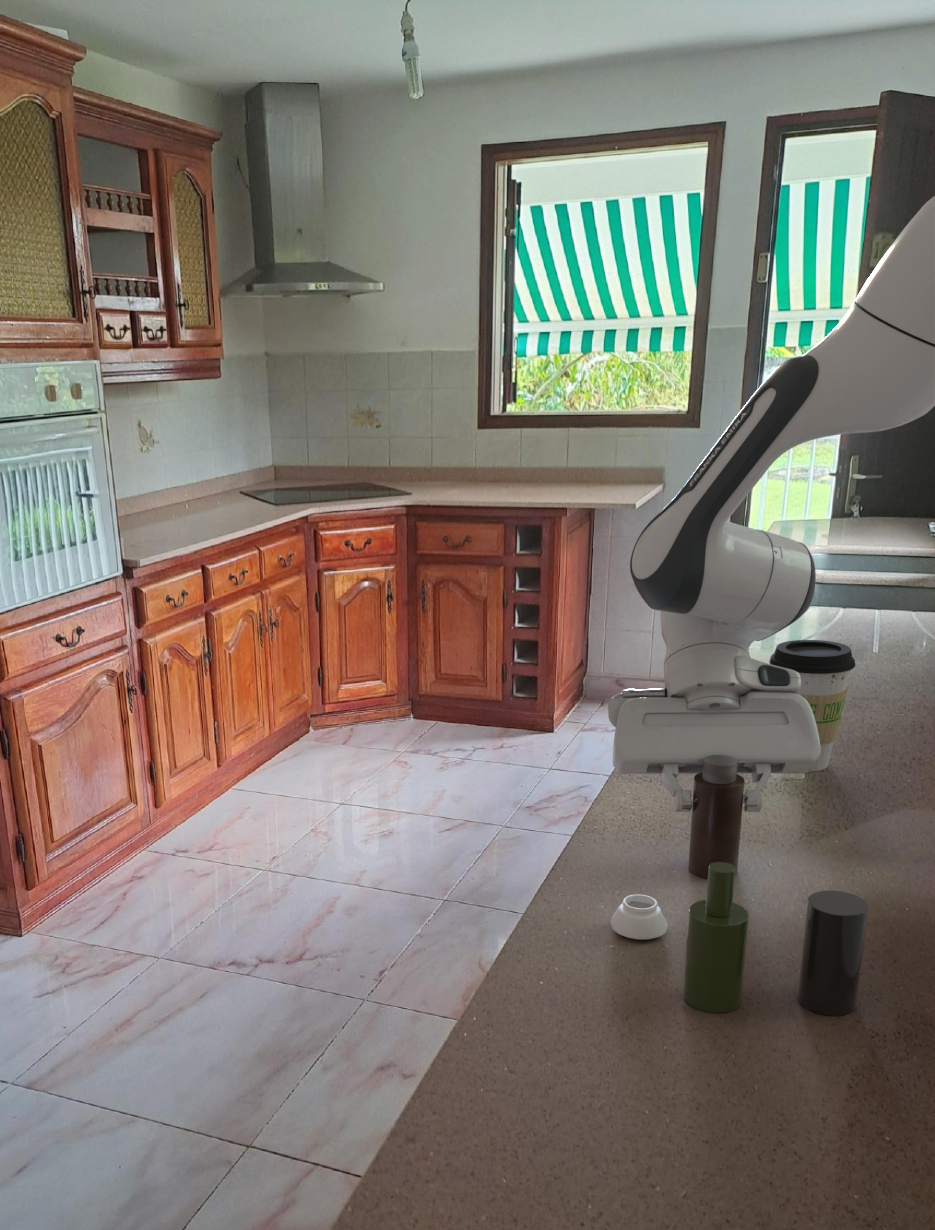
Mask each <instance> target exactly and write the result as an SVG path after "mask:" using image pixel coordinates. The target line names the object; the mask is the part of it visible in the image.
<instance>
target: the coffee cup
mask: <svg viewBox="0 0 935 1230" xmlns="http://www.w3.org/2000/svg"><path fill="white" fill-rule="evenodd" d="M852 653H853V652H852V648H851V647H850V646H848V645H846V644H844V643H841V642H836V641H831V640H824V639H823V640H822V639H796V640H795V639H794V640H788V641H783V642H780V643H778V644H777V645H776V647H775V650H774V653H772V654H771V655H770V658H769V662H768V664H771V665H775V666H779V667H783V668H787V669H791V670H794V671H797V672H798V673H799V674H800V676H801V688H800V692H799V695H801V696H802V697H804V698H805V699H806V700H807V701H808V703H809V704H810V706H811V708H812V711H813V714H814V718H815V721H816V725H817V729H818V734H819V739H820V746H821V754H820V757H819V759H818V761H817V763H816V764H815V766H814V767H813V768H812V769H811V770H810V771H809V772H808V773H810V772H818V771H819V772H820V771H823V770H826V769H827V768H829V767H828V766H829V764H830V763H829V762H830V759H831V755H832V751H833V746H834V742H835V741H836V739H837V735H838V730H839V726H840V724H841V718H842V714H843V710H844V706H845V702H846V698H847V694H848V693H847V692H848V690H849V687H848V682H849V678H850V674H851V670H853V669H854V668H855V667H856V660H855V657H854V656H853V654H852Z"/></svg>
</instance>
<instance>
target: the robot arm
mask: <svg viewBox="0 0 935 1230" xmlns="http://www.w3.org/2000/svg"><path fill="white" fill-rule="evenodd" d="M934 407H935V195H934V196H933V197H931V198H930V199H928V201H926V202H925V203H924V205H922V207H921V208H920V209H919V210H918V211H917V213H916V214H915V215H914V216H913V217H912V218H911V219H910V221H909V222H908V223H907V224H906V226H905V227H904V228H903V230H901V232H900V233H899V235H897V237H896V239H894V241H893V242H892V244H891V245H890V247H889V248H888V250H886V252H885V253H884V255H883V256H882V258H881V259H880V260H879V262H878V263H877V265H876V266H875V268H874V269H873V271H872V273H871V274H870V276H869V277H868V278H867V279H866V281H865V283H864V284H863V286H862V288H861V290H860V291H859V293H858V295H856V298H855V300H854V301H853V303H852V304H851V307H850V308H849V309H848V310H847V312H846V314H845V315H844V316H843V318H842V319H841V320H840V321H839V323H838V324H837V325H836V326H835V327H834V328H833V329H832V331H830V332H829V333H828V334H827V336H825V337H824V338H823V339H822V340H821V341H820V342H818V343H817V344H816V345H815V346H813V347H812V348H811V349H809V350H808V351H807V352H806V353H804V354H802V355H800V356H796V357H792V358H789V359H786V360H785V361H784V362H782V363H781V364H780V365H778V367H776V368H775V369H774V370H773V371H772V372H771V373H770V374H769V375H768V376H767V377H766V379H765V380H764V381H763V382H762V383H761V385H760V386H759V387H758V389H757V390H756V391H754V393H753V395H751V397H750V398H749V399H748V400H747V402H746V404H745V405H744V406H743V407H742V409H740V411H739V412H738V413H737V414H736V416H735V417H734V419H733V420H732V422H731V423H730V424H729V425H728V427H727V428H726V429H725V430H724V432H723V433H722V434H721V436H720V437H719V438H718V440H717V441H716V443H715V444H714V445H713V446H712V448H711V449H710V450H709V452H708V453H707V454H706V456H705V457H704V459H703V460H702V461H701V463H700V464H699V465H698V466H697V468H696V469H695V470H694V471H693V473H692V474H691V476H690V477H689V478H688V480H687V481H686V482H685V484H683V486H682V487H681V489H680V490H679V491H678V493H677V494H675V496H674V497H673V499H672V500H670V502H668V503H667V505H666V506H665V507H663V508H662V509H661V510H660V511H659V512H658V513H657V514H656V515H655V516H654V517H653V518H652V519H651V520H650V521H649V523H648V524H647V525H646V526H645V527H644V528H643V530H642V531H641V532H640V534H639V536H638V538H637V539H636V542H635V544H634V546H633V549H632V552H631V556H630V561H629V571H630V575H631V578H632V581H633V583H634V586H635V588H636V590H637V593H639V595H640V597H641V598H642V600H643V601H644V603H645V604H646V605H647V606H648V607H649V608H650V609H651V610H655V611H660V628H661V637H662V640H663V642H664V645H665V648H666V650H665V655H664V660H663V680H664V688H647V689H635V688H627V689H622V691H621V692H620V693H619V692H618V693H616V694H614V695H612V697H611V698H610V700H609V701H608V705H607V713H608V720H609V722H610V724H611V725H612V726H613V727H614V728H615V729H614V737H613V745H612V766H613V768H614V769H615V770H616V771H617V772H618V773H620V774H621V775H661V783H662V784H663V786H664V787H665V789H666V790H667V791H668V792H669V794H670V795H671V797H673V798H674V799H673V800H674V812H676V813H688V812H689V813H690V812H692V802H693V799H692V798H693V792H692V790H691V789H684V788H683V787H682V786H681V784H680V783H679V781H678V780H677V779H678V776H679V775H687V774H688V775H693V774H694V775H696V774H698V773H701V772H703V761H704V758H705V757H707V756H710V755H727V756H731V757H734V758H736V759H737V761H738V762H737V774H738V775H741V774H747V775H749V774H751V778H752V782H753V783H756V786H755V787H754V789H746V790H744V794H743V812H745V813H760V812H761V810H762V808H763V797H762V792H763V791H764V788H765V787H766V785H767V783H768V781H769V779H770V777H771V775H772V774H773V775H774V774H777V775H779V774H783V775H784V774H785V775H786V774H789V775H790V774H791V775H792V774H801V775H803V774H808V773H810V772H809V771H810V770H811V769H812V768H813V767H814V766H815V764H816V763H817V761H818V759H819V757H820V754H821V746H820V739H819V734H818V729H817V725H816V721H815V718H814V714H813V711H812V708H811V706H810V704H809V703H808V701H807V700H806V699H805V698H804V697H802V696H801V695H799V692H800V688H801V676H800V674H799V673H798V672H797V671H794V670H791V669H787V668H783V667H779V666H775V665H771V664H770V663H769V662H768V663H767V662H763V661H761V660H757V659H754V658H752V657H751V655H750V646H751V645H752V644H753V643H754V642H760V641H763V640H766V639H768V638H771V636H773V635H775V634H778V633H779V632H781V631H782V630H785V629H787V628H788V627H790V626H791V625H792V624H794V623H795V622H796V621H798V620H799V619H800V618H801V617H802V616H803V615H804V614H805V613H807V611H808V610H809V608H810V607H811V604H812V602H813V599H814V595H815V590H816V582H817V581H816V580H817V577H816V572H817V571H816V565H815V561H814V558H813V556H812V553H811V552H810V549H809V548H808V546H806V544H804V543H803V542H801V541H797V540H795V539H793V538H789V537H787V536H783V535H780V534H776V533H774V532H773V533H772V532H769V531H767V530H763V529H758V528H757V529H755V528H752V527H749V526H745V525H742V524H738V523H734V522H731V521H728V520H729V519H730V518H731V516H732V515H733V514H734V513H735V511H736V510H737V509H738V508H739V506H740V505H741V504H742V503H743V502H744V500H745V499H746V498H747V496H748V495H749V494H750V492H751V491H752V490H753V489H754V487H755V486H756V485H757V484H758V483H759V481H760V480H761V479H762V477H764V475H765V474H766V472H767V471H768V470H769V468H770V467H771V466H772V465H773V464H774V463H775V462H776V460H778V459H779V458H780V457H781V456H782V455H784V454H785V453H786V452H788V451H789V450H792V449H793V448H795V447H797V446H799V445H801V444H805V443H807V442H810V441H814V440H817V439H822V438H827V437H833V436H839V435H850V434H863V433H864V434H865V433H867V434H868V433H876V432H877V433H878V432H883V431H887V430H891V429H895V428H897V427H902V426H904V425H906V424H908V423H911V422H913V421H916V420H917V419H919V418H921V417H923V416H924V415H926V414H928V413H929V412H930V411H931V410H932V409H933V408H934Z"/></svg>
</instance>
